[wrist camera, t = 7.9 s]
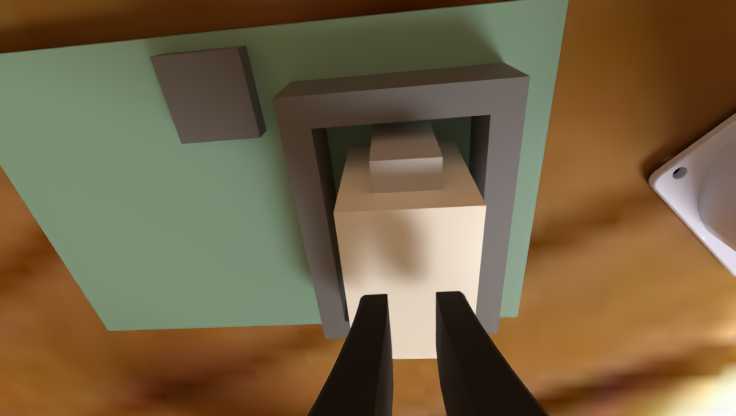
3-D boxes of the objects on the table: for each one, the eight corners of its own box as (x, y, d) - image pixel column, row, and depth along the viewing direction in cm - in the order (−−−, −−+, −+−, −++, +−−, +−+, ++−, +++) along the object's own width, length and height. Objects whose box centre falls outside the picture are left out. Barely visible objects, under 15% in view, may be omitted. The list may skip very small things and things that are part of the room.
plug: (448, 264, 17) (471, 357, 12) (362, 267, 17) (355, 359, 13) (455, 113, 13) (490, 170, 9) (346, 121, 13) (328, 178, 9)
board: (556, -5, 12) (614, -6, 9) (511, 302, 19) (535, 360, 16) (-39, 57, 14) (-158, 73, 11) (119, 317, 21) (74, 371, 18)
